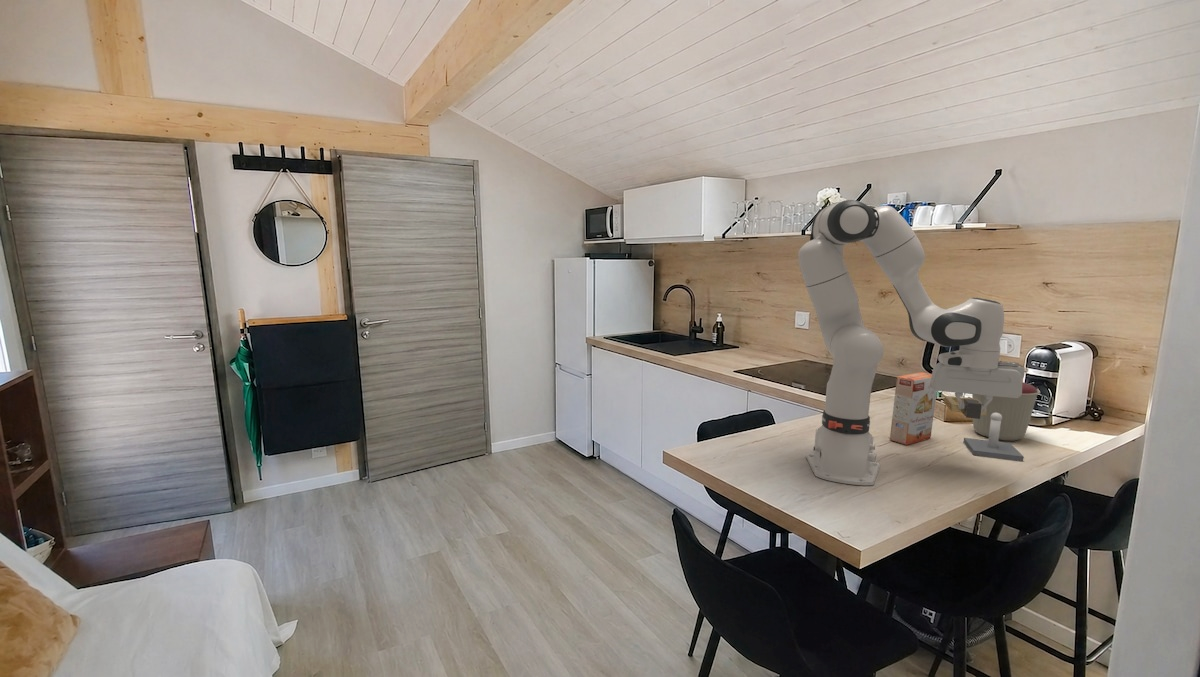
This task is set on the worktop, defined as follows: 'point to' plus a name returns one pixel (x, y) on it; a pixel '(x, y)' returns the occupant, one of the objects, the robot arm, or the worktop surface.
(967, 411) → the link
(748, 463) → the worktop surface
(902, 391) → the cracker box
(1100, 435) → the worktop surface
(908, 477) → the worktop surface
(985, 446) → the stand
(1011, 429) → the canister
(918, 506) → the worktop surface
